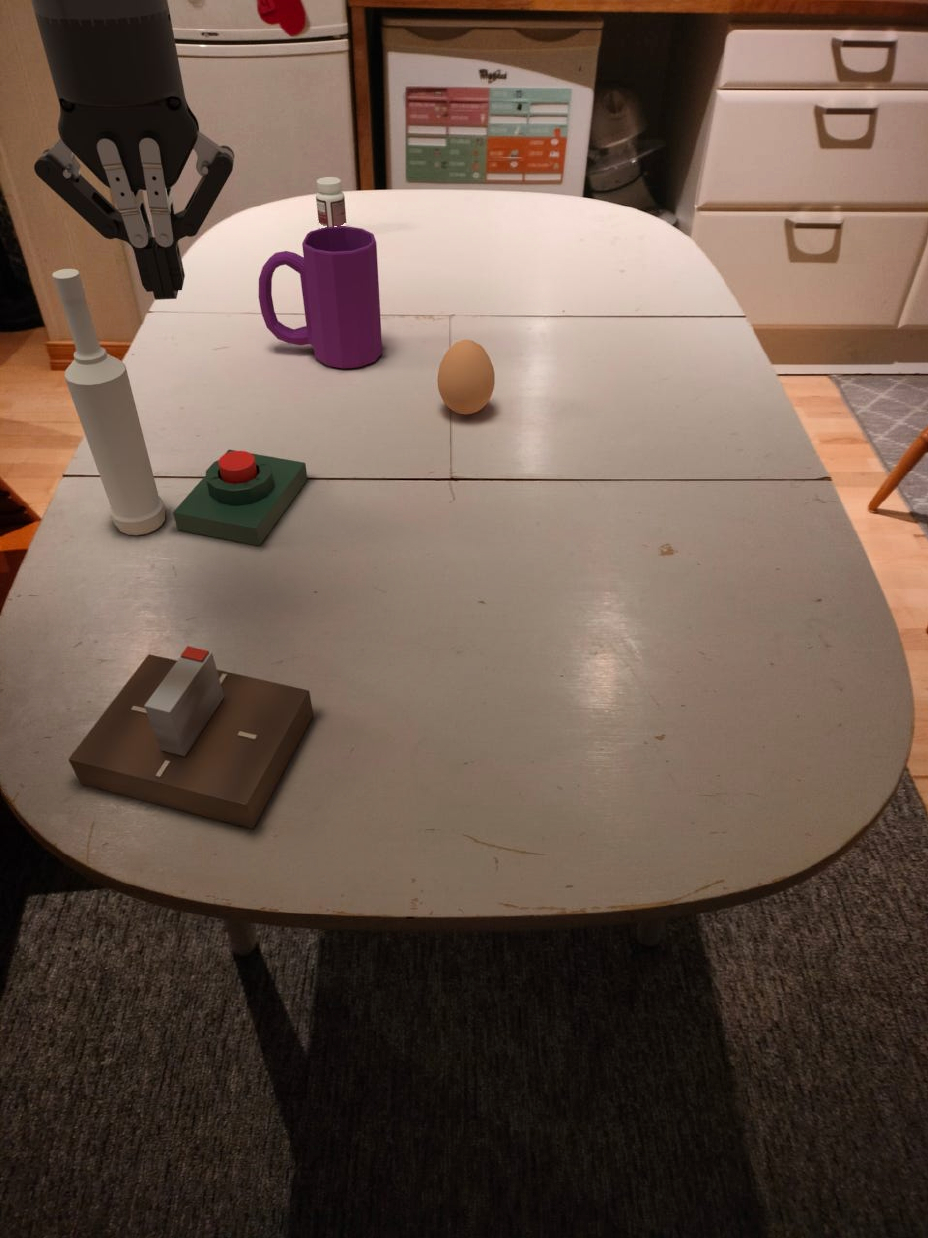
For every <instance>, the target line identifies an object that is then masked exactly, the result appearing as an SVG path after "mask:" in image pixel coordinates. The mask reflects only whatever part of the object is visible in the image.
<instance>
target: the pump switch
mask: <svg viewBox="0 0 928 1238" xmlns="http://www.w3.org/2000/svg"><path fill="white" fill-rule="evenodd" d="M233 451H236V450H235V449H228V450H226V452H225V453H224V454H226V453H229V452H233ZM250 453H251V454H252V455H253V456H254V457H255V462H256V468H257V476H256V477H255V479H253V480H250V481H248V482H246V483H239V484H232V483H226V482H224V481H223V480H222V478H221V474H220V469H219V464H218V461H219V459H218V460H215V461H213V462H212V463H211V465H209V467H208V468H207V469H206V470H205V475H204V476H203V478H202V479H201V480H199V482H198V484H196V485H195V487H194V488H193V489H192V490H191V492H189V493H188V494H187V496H186V497H185V498H184V499H183V500H182V501H181V503H179V505H178V506H177V507H176V508H175V509H174V511H173V512H172V515H173V518H174V521H175V525H176V529H177V531H182V532H186V533H192V534H196V535H197V534H198V535H203V536H207V537H212V538H217V539H222V540H227V541H233V542H238V543H244V544H247V545H253V546H261V545H262V543H263V542H264V541H265V540H266V538H267V536H268V535H269V534H270V532H271V531H272V529H273V528H274V527H275V525H276V524H277V523H278V521H279V520H280V518H281V517H282V516H283V514H284V513H285V511H286V510H287V509H288V507H289V506H290V505H291V503H292V502H293V500H294V499H295V498H296V497H297V495H298V494H299V492H300V491H301V489H302V488H303V487H304V486H305V484H306V483H307V482H308V471H307V465H306V462H303V461H298V460H291V459H286V458H280V457H274V456H269V455H264V454H257V453H252V452H250Z"/></svg>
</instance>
